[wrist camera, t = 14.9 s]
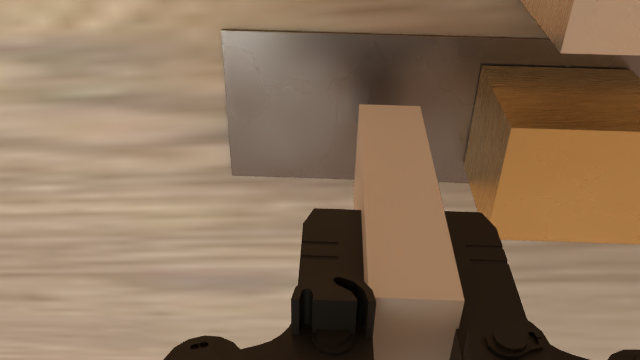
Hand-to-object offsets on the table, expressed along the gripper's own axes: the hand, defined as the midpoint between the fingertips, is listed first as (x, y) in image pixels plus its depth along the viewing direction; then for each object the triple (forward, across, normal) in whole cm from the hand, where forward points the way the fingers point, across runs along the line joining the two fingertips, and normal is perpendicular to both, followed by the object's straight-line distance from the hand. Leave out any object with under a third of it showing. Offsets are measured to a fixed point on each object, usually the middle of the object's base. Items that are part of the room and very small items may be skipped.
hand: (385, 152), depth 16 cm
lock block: (+2, +5, 0) cm, 5 cm away
